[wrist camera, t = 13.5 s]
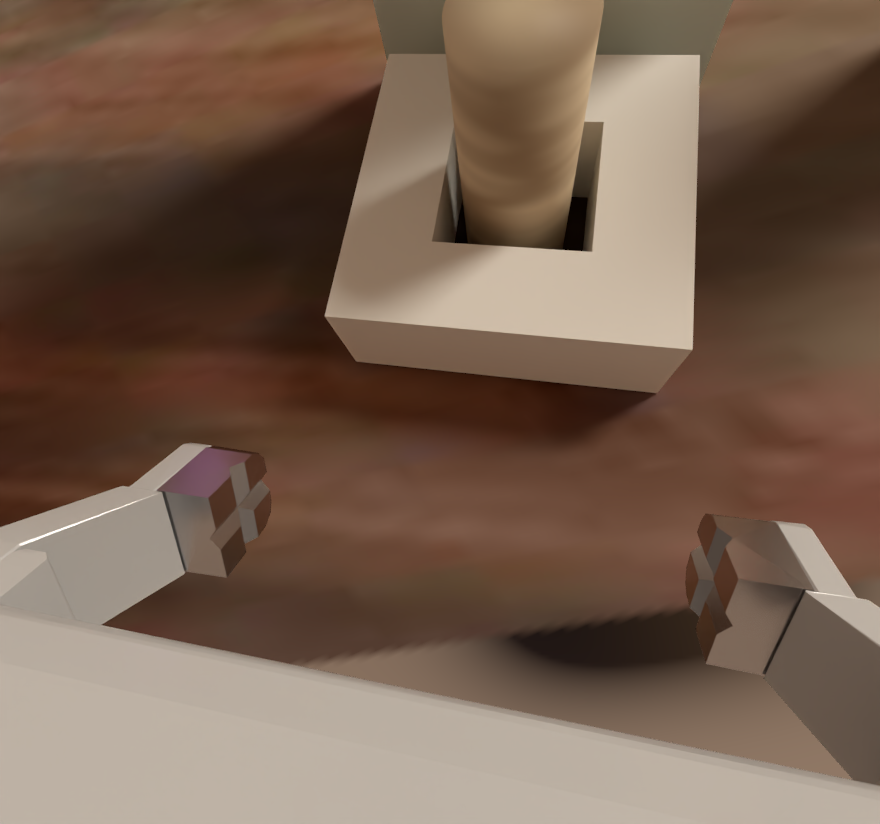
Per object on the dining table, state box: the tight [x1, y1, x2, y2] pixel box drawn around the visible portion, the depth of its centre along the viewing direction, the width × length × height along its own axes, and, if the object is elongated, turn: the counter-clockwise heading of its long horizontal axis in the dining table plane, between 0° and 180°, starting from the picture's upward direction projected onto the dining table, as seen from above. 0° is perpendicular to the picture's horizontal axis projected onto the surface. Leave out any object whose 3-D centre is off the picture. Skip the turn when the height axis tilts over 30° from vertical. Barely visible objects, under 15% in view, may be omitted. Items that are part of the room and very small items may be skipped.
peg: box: [442, 0, 604, 250], centre depth 18 cm, size 4×4×10 cm
